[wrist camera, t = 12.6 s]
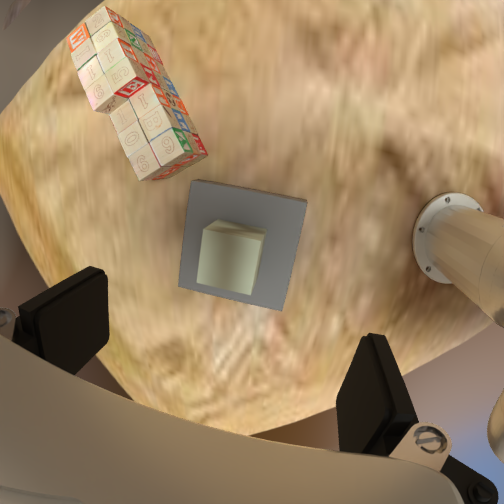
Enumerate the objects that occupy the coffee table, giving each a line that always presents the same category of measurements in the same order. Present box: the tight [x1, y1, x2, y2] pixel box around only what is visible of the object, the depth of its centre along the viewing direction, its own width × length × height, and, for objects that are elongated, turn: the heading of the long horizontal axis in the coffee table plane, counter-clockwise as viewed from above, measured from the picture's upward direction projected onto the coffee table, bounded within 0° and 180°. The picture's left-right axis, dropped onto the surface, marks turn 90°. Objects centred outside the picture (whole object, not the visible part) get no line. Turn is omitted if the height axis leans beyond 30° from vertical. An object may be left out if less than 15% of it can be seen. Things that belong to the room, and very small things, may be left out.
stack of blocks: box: [66, 6, 208, 181], centre depth 32 cm, size 21×6×12 cm, turn 27°
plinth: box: [178, 179, 307, 311], centre depth 39 cm, size 14×14×3 cm
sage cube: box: [197, 219, 267, 295], centre depth 35 cm, size 6×6×6 cm
